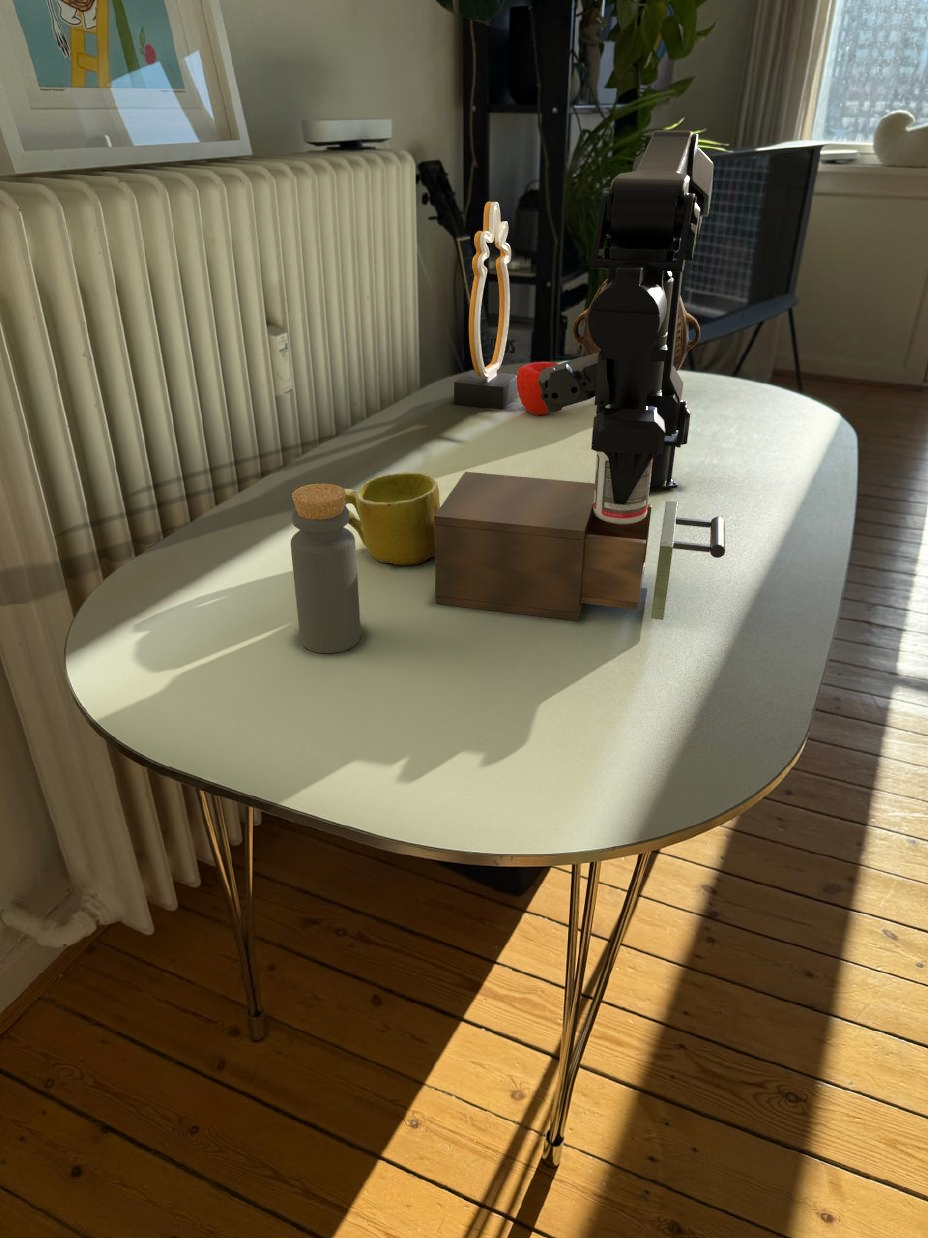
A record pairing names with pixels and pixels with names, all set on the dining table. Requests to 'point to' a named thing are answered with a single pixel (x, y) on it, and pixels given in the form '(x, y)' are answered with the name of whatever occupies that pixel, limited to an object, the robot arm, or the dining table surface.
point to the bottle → (325, 570)
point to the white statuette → (482, 381)
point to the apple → (532, 387)
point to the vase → (680, 343)
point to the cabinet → (513, 544)
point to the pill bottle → (605, 501)
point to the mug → (396, 517)
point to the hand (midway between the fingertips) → (619, 492)
